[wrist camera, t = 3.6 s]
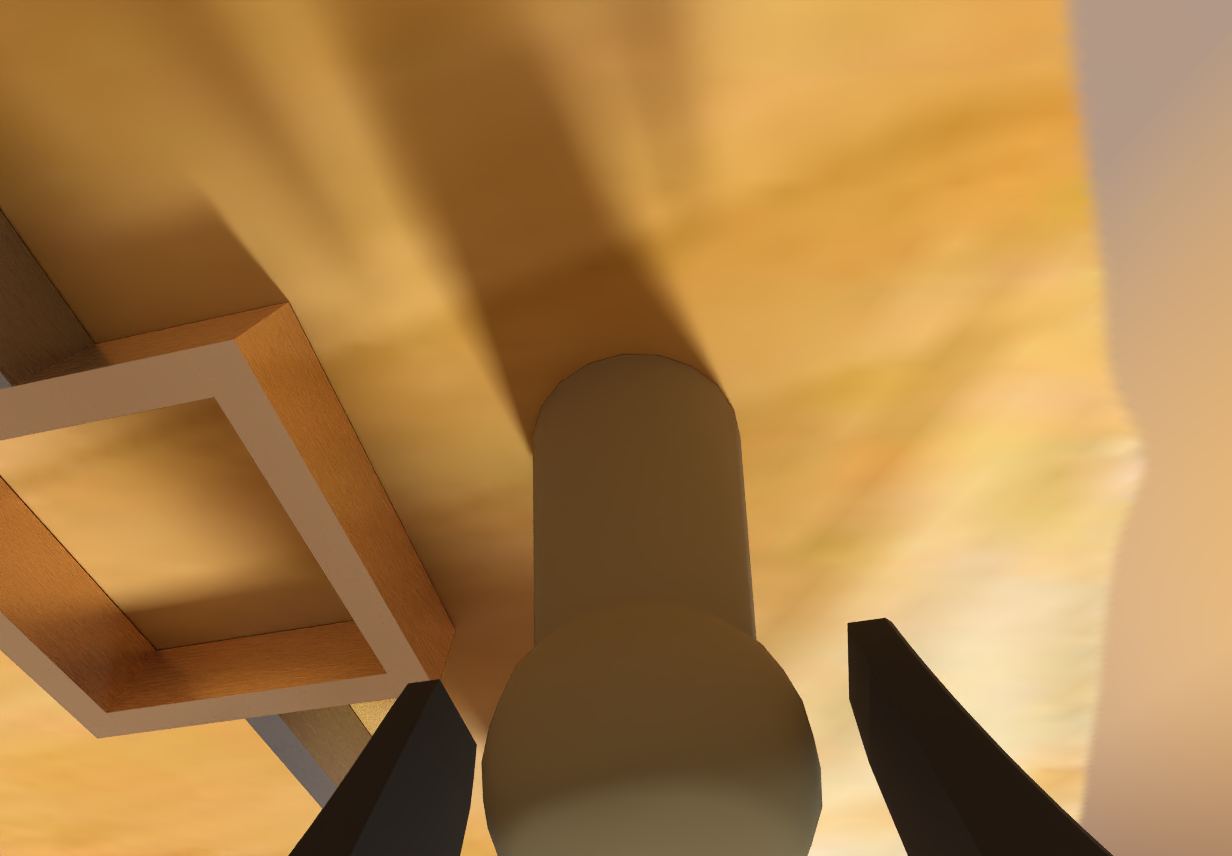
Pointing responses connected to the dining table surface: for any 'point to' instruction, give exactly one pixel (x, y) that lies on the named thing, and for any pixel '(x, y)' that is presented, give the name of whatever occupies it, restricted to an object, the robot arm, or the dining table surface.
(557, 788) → the cork
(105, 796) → the dining table surface
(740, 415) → the dining table surface
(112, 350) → the square frame
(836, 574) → the dining table surface
